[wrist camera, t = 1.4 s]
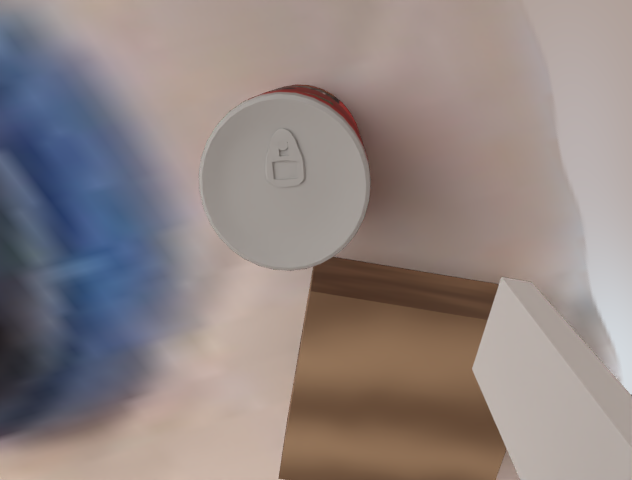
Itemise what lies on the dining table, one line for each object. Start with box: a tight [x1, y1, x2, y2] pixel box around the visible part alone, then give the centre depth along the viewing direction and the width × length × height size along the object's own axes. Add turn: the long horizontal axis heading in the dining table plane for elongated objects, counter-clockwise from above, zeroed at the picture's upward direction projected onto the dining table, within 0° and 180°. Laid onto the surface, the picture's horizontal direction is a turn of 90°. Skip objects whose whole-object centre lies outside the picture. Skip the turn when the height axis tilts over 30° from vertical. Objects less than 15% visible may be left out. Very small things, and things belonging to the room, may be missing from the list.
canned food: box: [199, 85, 371, 271], centre depth 27 cm, size 8×8×11 cm
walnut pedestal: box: [279, 257, 506, 480], centre depth 34 cm, size 14×14×6 cm
